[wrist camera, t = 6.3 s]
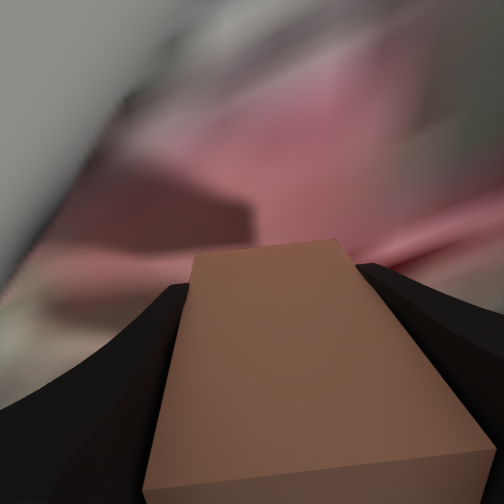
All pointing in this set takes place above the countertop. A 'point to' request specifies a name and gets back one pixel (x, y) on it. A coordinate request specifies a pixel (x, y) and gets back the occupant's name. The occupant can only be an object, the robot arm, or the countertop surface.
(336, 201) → the countertop surface
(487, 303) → the countertop surface
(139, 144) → the countertop surface
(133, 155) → the countertop surface
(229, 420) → the domino
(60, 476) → the robot arm
